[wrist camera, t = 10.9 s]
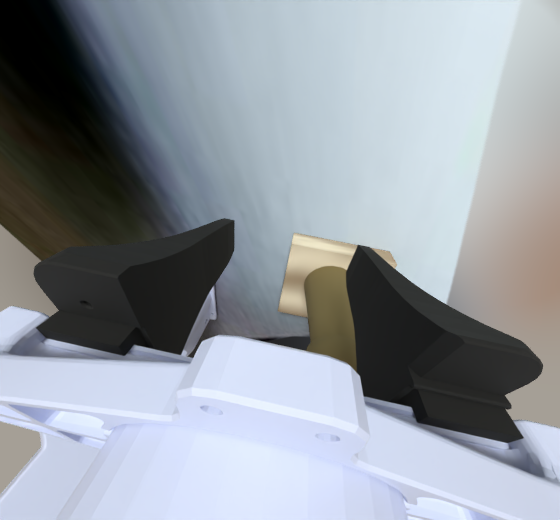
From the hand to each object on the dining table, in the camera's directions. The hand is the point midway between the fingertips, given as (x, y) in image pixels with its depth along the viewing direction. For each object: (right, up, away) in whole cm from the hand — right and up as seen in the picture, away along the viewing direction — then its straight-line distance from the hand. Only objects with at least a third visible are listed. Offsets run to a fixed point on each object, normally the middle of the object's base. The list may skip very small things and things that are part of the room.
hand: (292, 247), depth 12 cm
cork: (+5, -4, +12) cm, 13 cm away
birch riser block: (+5, -3, +14) cm, 15 cm away
